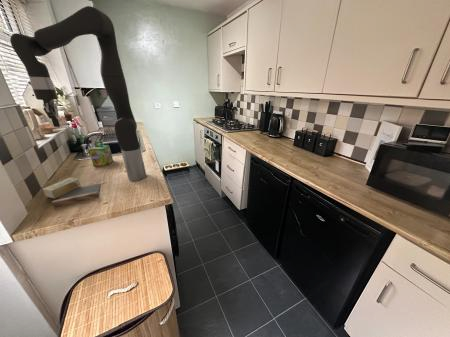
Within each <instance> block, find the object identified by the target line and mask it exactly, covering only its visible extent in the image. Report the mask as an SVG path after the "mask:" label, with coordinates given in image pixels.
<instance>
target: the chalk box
mask: <svg viewBox="0 0 450 337" xmlns="http://www.w3.org/2000/svg"><path fill="white" fill-rule="evenodd" d="M93 144H94V146H92V147H90V148H88V152H89V156H90V160H91V163H92V166H93V167H98V166H99V167H100V166H101V167H102V166H109V165H110V164H111V163H112V162H113V161H114V159H113V155H112V151H111V148H110V145H109V144H104V142H103V141H94V143H93Z"/></svg>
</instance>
